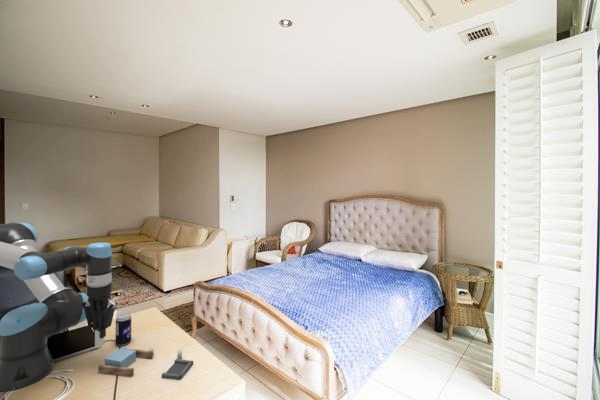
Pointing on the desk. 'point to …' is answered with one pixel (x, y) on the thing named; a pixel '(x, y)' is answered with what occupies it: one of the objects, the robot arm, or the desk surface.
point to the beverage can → (123, 329)
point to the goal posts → (179, 352)
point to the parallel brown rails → (124, 370)
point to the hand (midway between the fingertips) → (99, 345)
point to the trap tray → (178, 369)
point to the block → (121, 358)
